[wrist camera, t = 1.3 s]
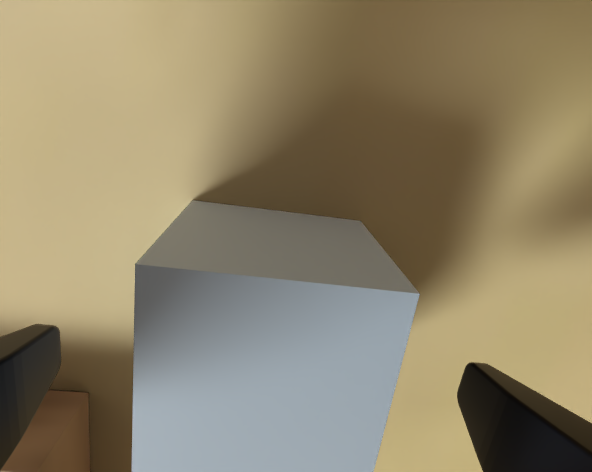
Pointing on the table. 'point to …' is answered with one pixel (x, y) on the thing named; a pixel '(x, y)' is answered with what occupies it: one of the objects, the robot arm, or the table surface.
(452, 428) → the table surface
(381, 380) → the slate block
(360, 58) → the table surface
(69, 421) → the pedestal
